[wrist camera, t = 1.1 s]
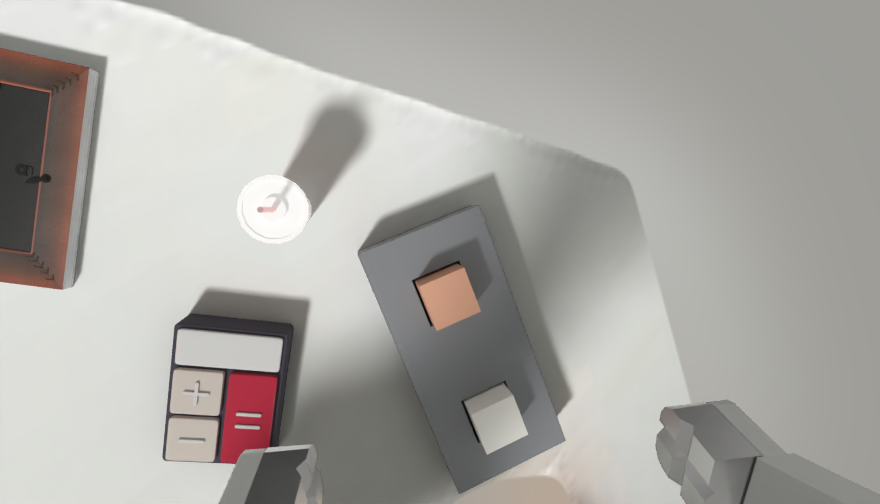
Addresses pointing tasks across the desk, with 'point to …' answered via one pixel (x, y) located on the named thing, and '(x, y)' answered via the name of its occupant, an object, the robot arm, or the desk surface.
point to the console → (461, 343)
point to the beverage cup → (273, 209)
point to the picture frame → (43, 166)
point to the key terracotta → (447, 295)
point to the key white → (495, 417)
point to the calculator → (225, 387)
